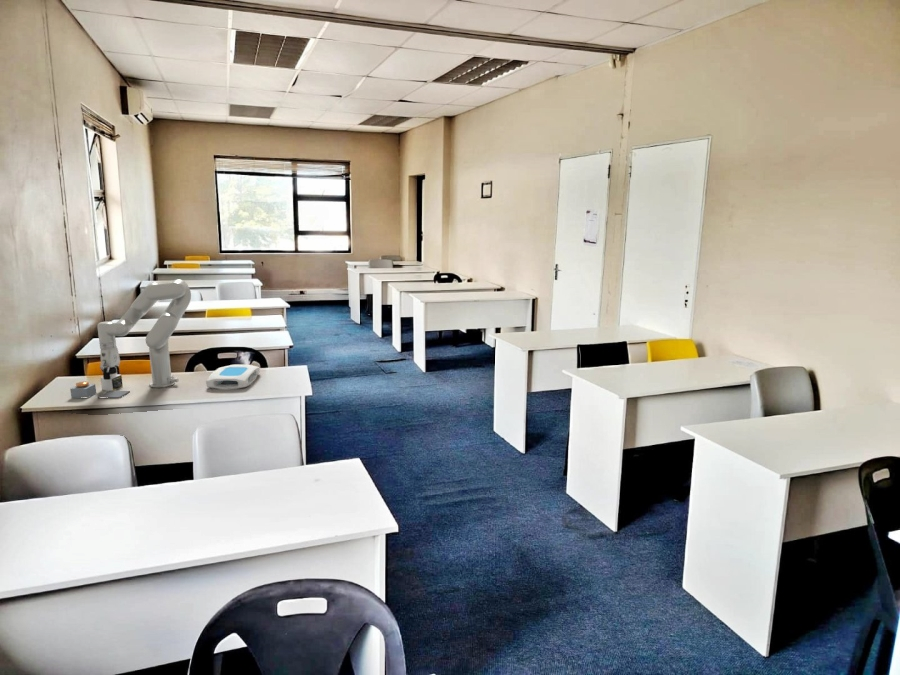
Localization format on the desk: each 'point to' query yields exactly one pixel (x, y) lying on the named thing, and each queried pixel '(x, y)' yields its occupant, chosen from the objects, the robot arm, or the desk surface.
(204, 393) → the desk surface
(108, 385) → the medicine bottle
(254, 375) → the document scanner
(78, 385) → the release plunger
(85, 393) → the release housing
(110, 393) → the mat
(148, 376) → the desk surface
